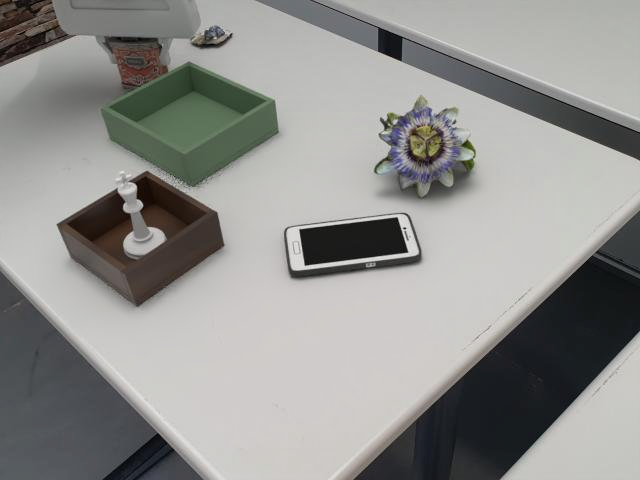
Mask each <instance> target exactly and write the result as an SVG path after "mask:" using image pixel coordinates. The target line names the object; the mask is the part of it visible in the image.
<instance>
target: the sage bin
mask: <svg viewBox="0 0 640 480" xmlns="http://www.w3.org/2000/svg"><path fill="white" fill-rule="evenodd" d="M168 71H169V70H168ZM99 109H100V110H99V111H100V113H101V116H102V119H103V122H104V126H105V128H106V131H107V134H108V137H109V139H110V140H111V141H113V142H115V143H117V144H118V145H120V146H122V147H123V148H125V149H127V150H129V151H130V152H131V153H134V154H135V155H137V156H139V157H141V158H142V159H144V160H146V161H148V162H149V163H151V164H152V165H155V166H157V167H158V168H160V169H161V170H163V171H165V172H167V173H168V174H170V175H171V176H173V177H175V178H177V179H178V180H181V181H182V182H183V183H186V184H187V185H189V186H191V187H195V185H197V184H199V183H200V182H202V181H203V180H205V179H207V178H208V177H210V176H212V175H213V174H214V173H216V172H218V171H219V170H222V168H224V167H225V166H227V165H229V164H230V163H232V162H234V161H235V160H236V159H238V158H240V157H241V156H243V155H245V154H246V153H248V152H249V151H251V150H252V149H254V148H256V147H257V146H259V145H260V144H262V143H263V142H265V141H266V140H268V139H270V138H271V137H273V136H275V135H276V134H277V133H280V131H279V130H280V129H279V122H278V112H277V104H276V100H275V99H274V98H271V97H269V96H267V95H265V94H263V93H260V92H258V91H255V90H253V89H251V88H249V87H247V86H245V85H242V84H240V83H238V82H236V81H234V80H231V79H229V78H227V77H225V76H223V75H220V74H219V73H216V72H213V71H211V70H209V69H207V68H204V67H202V66H200V65H198V64H196V63H193V62H191V61H187V62H185V63H183V64H180V65H179V66H177V67H175V68H173V69H171V70H170V71H169V72H167V73H166V74H164V75H162V76H160V77H158V78H156V79H154V80H152V81H150V82H148V83H146V84H144V85H142V86H141V87H139V88H137V89H135V90H133V91H128V92H127V93H124V95H121V96H120V97H117V98H116V99H114V100H111V101H109V102H108V103H106V104H104V105H102V106H100V107H99Z"/></svg>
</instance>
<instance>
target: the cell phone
mask: <svg viewBox="0 0 640 480" xmlns="http://www.w3.org/2000/svg"><path fill="white" fill-rule="evenodd" d="M283 241H284V246H285V254H286V262H287V269H288V272H289V275H291V276H293V277H303V276H304V277H305V276H313V275H320V274H328V273H337V272H345V271H351V270H358V269H359V270H361V269H366V268H367V269H368V268H374V267H385V266H393V265H399V264H400V265H401V264H407V263H408V264H409V263H415V262H418V261H420V260H421V259H422V254H423V253H422V247H421V245H420V242H419V239H418V235H417V232H416V229H415V227H414V223H413V220H412V218H411V216H410V214H409V213H407V212H393V213H386V214H385V213H384V214H377V215H368V216H363V217H362V216H361V217H352V218H345V219H336V220H328V221H319V222H311V223H304V224H302V223H301V224H297V225H291V226H287V227H285V229H284V231H283Z"/></svg>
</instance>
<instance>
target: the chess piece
mask: <svg viewBox="0 0 640 480" xmlns="http://www.w3.org/2000/svg"><path fill="white" fill-rule="evenodd" d="M119 176H120V177H117V178H114V180H115V183H116V184H117V185H119V186H118V187H117V188H118V193H119V194H120V196H122V198H123V199H124V200H125V204H124V205H123V210H124V211H125V212H127V213H130V214H131V219H132V225H133V231H132V232H131V233H130V234H128V235H127V236H126V238H125V239H124V242H123V247H124V252H125V254H126V255H127V256H128V257H130V258H132V259H137V260H138V259H139V258H141V257H142V256H144V255H145V254H147V253H148V252H150V251H151V250H153V249H154V248H156V247H157V246H159V245H160V244H162V243H163V242H165V241H166V240H167V238H166V237H165V234H164V233H163V232H162V231H161V230H159V229H157V228H154V227H147V226H146V224H145V222H144V220H143V218H142V216H141V213H140V210H141V209H142V207H143V203H142V202H141V201H140V200H137V199H136V198H137V196H136V194H137V186H136V185H135V184H134V183H130V182H128V181H130V180H132V179H133V178H134V177H133V175H132V173H129V174H126V172H125V171H124V170H122V171H119Z"/></svg>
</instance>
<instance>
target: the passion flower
mask: <svg viewBox="0 0 640 480" xmlns="http://www.w3.org/2000/svg"><path fill="white" fill-rule="evenodd" d="M459 111H460V109H459V107H458V106H452V107H450V108H448V107H446V108H444V109H442V110H441V111H439V112H438V113H436V112H435V113H433V114H432V112H433V108H432V107H431V106H430V104H429V101H428V99H427V98H426V97H425V96H424V95H422V94H420V95H419V97H417V99H416V100H415V102H414V105H413V107H412V109H411V110H409V111H408V112H406V113H405V114H404V115H400V114H398V113H396V112H392V111H390V112H388V113H386V116H387V117H386V119H384V118H383V117H382V116H380V117H379V122H380V123H381V124H382V126H383V130H382V131H380V132H379V133H378V138H379V139H380V140H381V141H383V142H384V143H385V144H387V145H388V146H390V149H389V151H388V152H387V156H385V157H384V158H382V159H381V160H379V162H377V163H376V164H375V166H374V169H373V172H374V174H375V175H382V176H383V175H387V174H389V173H392V172H396V173H397V174H398V184H399V188H400V190H401V191H404V190H406V189H408V188H409V187H414V188H415V190H416V195H417V196H418V197H419V198H423V197H425V196H426V195H428V193H429V190H430V188H431V185H432V182H434V181H438V182H439V183H440V184H441V185H442V186H444V187H446V188H451V187H452V186H453V184H454V181H455V177H454V170H457V168H456V166H455V164H456V163H458V162H460V163H462V165H463V166H464V168H465V170H466V172H467V173H471V171H472V170H473V169H474V167H475V160H474V159H475V158H476V155H477V150H476V149H475V147H474V145H473V143H472V142H471V141H470V140H469V139H470V137H471V135H472V132H471V131H470V130H469V129H466V128H459V127H457V126H455V127H453V125H456V124H457V122H458V121H457V119H456V118H457V117H458V114H459ZM395 120H397V122H395V123H394V121H395Z"/></svg>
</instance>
